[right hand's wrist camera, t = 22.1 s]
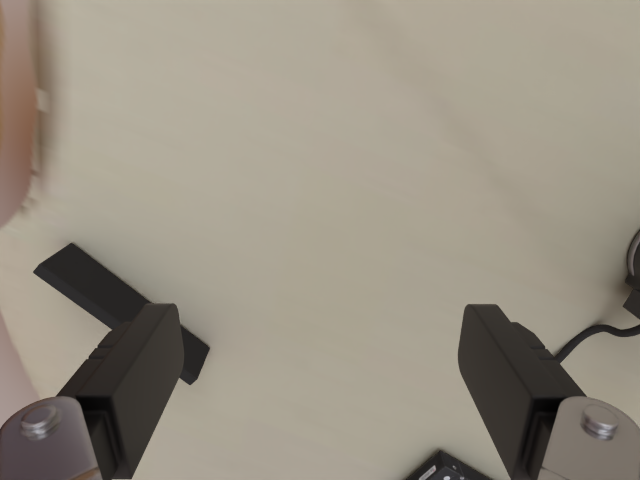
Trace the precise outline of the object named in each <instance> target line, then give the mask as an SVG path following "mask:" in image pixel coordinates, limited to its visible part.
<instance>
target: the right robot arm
mask: <svg viewBox="0 0 640 480" xmlns="http://www.w3.org/2000/svg"><path fill="white" fill-rule="evenodd" d="M627 262H628V270H629V275H628V277H627V279H626V280H625V283H626V284H628V285H629V286H631V287H632V288H634V289H633V291H632V292H631V294H630V296H629V297H628V299H627V300H626V302H625V304H624V305H623V307H624V308H625V309H627V310H628V311H629V312H631V313H632V314H633V315H635V316H636V317H637V318H639V319H640V231H639V233H638V234H637V235H636V237H635V238H634V240H633V242H632V244H631V247H630V250H629V253H628V260H627ZM599 332H608V333H610V334H612V335H615V336H618V337H630V336H635V335H638V334H640V325H638V326H635V327H633V328H629V329H624V330H620V329H617V328H615V327H612V326H610V325H597V326H593V327H590V328H588V329H586V330H584V331H583V332H581V333H580V334H578V335H577V336H576V337H574V338H573V339H572V340H571V341H570V342H569V343H568V344H567V345H566V346H565V347H564V348H563V349H562V350H561V351H560V352H559V354H558V355H557V356H555V357H553V355H552V354H551V353H550V352H549V351H548V349H545V346H544V345H543V343H542V342H541V341H540V340H539V339H538V337H537V336H536V335H535V334H534V333H533V332H531V331H530V330H528V329H527V328H525V327H524V326H522V325H521V324H519V323H517V322H510V321H509V319H508V318H507V317H506V315H505V314H504V313H503V312H502V310H501V309H500V308H499V307H498V305H496V304H468V305H467V306H466V307H465V310H464V315H463V322H462V329H461V335H460V342H459V349H458V364H459V369H460V372H461V375H462V377H463V379H464V381H465V383H466V386H467V388H468V390H469V392H470V394H471V396H472V398H473V400H474V402H475V405H476V407H477V409H478V411H479V413H480V415H481V417H482V419H483V421H484V424H485V426H486V428H487V430H488V432H489V434H490V436H491V438H492V440H493V442H494V445H495V447H496V449H497V451H498V453H499V455H500V457H501V459H502V461H503V464H504V466H505V468H506V470H507V472H508V474H509V476H510V478H511V480H640V429H639V427H638V425H637V424H636V423H635V422H634V421H633V420H632V419H631V418H630V417H629V416H628V415H626V414H625V413H624V412H622V411H621V410H619V409H618V408H616V407H614V406H612V405H610V404H608V403H606V402H603V401H600V400H597V399H594V398H590V397H587V396H586V395H585V394H584V393H583V391H582V390H581V389H580V388H579V387H578V385H577V384H576V383H575V382H574V381H573V379H572V378H571V377H570V376H569V375H568V373H567V372H566V371H565V370H564V369H563V367H562V366H561V365H560V363H561V362H562V361H563V360H564V359H565V358H566V357H567V356H568V354H569V353H570V352H571V351H572V350H573V349H574V348H575V347H576V346H577V345H578V344H579V343H580V342H581V341H583V340H584V339H586V338H587V337H589V336H591V335H593V334H596V333H599ZM183 363H184V347H183V341H182V334H181V327H180V320H179V313H178V309H177V306H176V305H175V304H145V305H144V306H143V308H142V309H141V310H140V311H139V313H138V314H137V315H136V317H135V318H134V319H133V321H132V322H124V323H122V324H121V325H119V326H118V327H116V328H115V329H113V330H112V331H110V332H109V333H108V334H107V335H106V336H105V337H104V339H103V340H102V341H101V342H100V343H99V345H98V348H95V349H94V351H93V352H92V353H91V354H90V356H89V359H86V360H85V362H84V363H83V364H82V365H81V366H80V368H79V369H78V370H77V371H76V372H75V374H74V375H73V376H72V377H71V378H70V380H69V381H68V382H67V383H66V385H65V386H64V387H63V388H62V389H61V391H60V392H59V393H58V394H57V395H56V397H50V398H46V399H43V400H40V401H37V402H34V403H32V404H30V405H28V406H26V407H24V408H22V409H21V410H19V411H18V412H16V413H15V414H14V415H12V416H11V417H10V418H9V419H8V420H7V421H6V422H5V423H4V424H3V425H2V427H1V429H0V480H112V479H132V477H133V475H134V473H135V470H136V468H137V466H138V464H139V462H140V460H141V458H142V456H143V453H144V451H145V449H146V447H147V445H148V443H149V441H150V438H151V436H152V434H153V432H154V430H155V428H156V426H157V424H158V421H159V419H160V417H161V415H162V413H163V411H164V409H165V406H166V404H167V402H168V400H169V398H170V396H171V394H172V392H173V389H174V387H175V385H176V383H177V381H178V379H179V377H180V374H181V372H182V368H183Z"/></svg>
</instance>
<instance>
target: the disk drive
mask: <svg viewBox="0 0 640 480" xmlns="http://www.w3.org/2000/svg"><path fill="white" fill-rule="evenodd" d="M407 480H491V479H489V478H487V477H486V476H484V475H482V474H481V473H479V472H477V471H476V470H474V469H472V468H471V467H469V466H467V465H465V464H464V463H462V462H460V461H458V460H457V459H455V458H453V457H451V456H449V455H447V454H446V453H443V452H442V451H439V452H438V453H437V454H436V455H434V456H433V457H432V458H430V459H429V460H428V461H427V462H426V463H425V464H424V465H423V466H421V467H420V468H419V469H418V470H417V471H416V472H415V473H414V474H412V475H411V476H410V477H409V478H408V479H407Z"/></svg>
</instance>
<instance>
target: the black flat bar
mask: <svg viewBox="0 0 640 480" xmlns="http://www.w3.org/2000/svg"><path fill="white" fill-rule="evenodd" d="M33 273H34V274H36V275H37V276H38V277H40V278H41V279H43V280H44V281H45V282H47V283H48V284H50V285H51V286H52V287H54V288H55V289H56V290H58V291H59V292H61V293H62V294H63V295H65V296H66V297H68V298H69V299H70V300H72V301H73V302H75V303H76V304H77V305H79V306H80V307H82V308H83V309H84V310H86V311H87V312H89V313H90V314H91V315H93V316H94V317H96V318H97V319H98V320H100V321H101V322H102V323H104V324H105V325H107V326H108V327H109V328H111V329H112V330H113V329H115V328H116V327H118V326H119V325H121V324H122V323H124V322H132V321H133V319H134V318H135V317H136V315H137V314H138V313H139V311H140V310H141V309H142V308H143V306H144V305H145V304H151V303H150V302H149V301H147V300H146V299H145V298H144V297H142V296H141V295H140V294H138V293H137V292H136V291H134V290H133V289H132V288H130V287H129V286H128V285H126V284H125V283H124V282H122V281H121V280H120V279H119V278H117V277H116V276H115V275H113V274H112V273H111V272H109V271H108V270H107V269H105V268H104V267H103V266H101V265H100V264H99V263H98V262H96V261H95V260H94V259H92V258H91V257H90V256H88V255H87V254H86V253H84V252H83V251H82V250H80V249H79V248H78V247H76V246H75V245H74V244H73V243H70V244H69V245H67V246H66V247H64V248H63V249H61V250H60V251H58V252H57V253H55V254H54V255H52V256H51V257H49V258H48V259H46V260H45V261H43V262H42V263H40V264H39V265H38V267H37V268H36V269H35V270H34V271H33ZM180 327H181V334H182V341H183V347H184V363H183V368H182V372H181V374H180V377H179V378H181V379H182V380H183V381H185V382H186V383H187V384H189V385H191V384H192V383H193V382H195V381H196V380H197V379H198V376H199V374H200V371H201V369H202V366H203V364H204V361H205V359H206V356H207V354H208V351H209V349H210V348H209V347H208V346H207V345H205V344H204V343H203V342H201V341H200V340H199V339H197V338H196V337H195V336H194V335H192V334H191V333H190V332H188V331H187V330H186V329H184V328H183V327H182V326H180Z"/></svg>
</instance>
